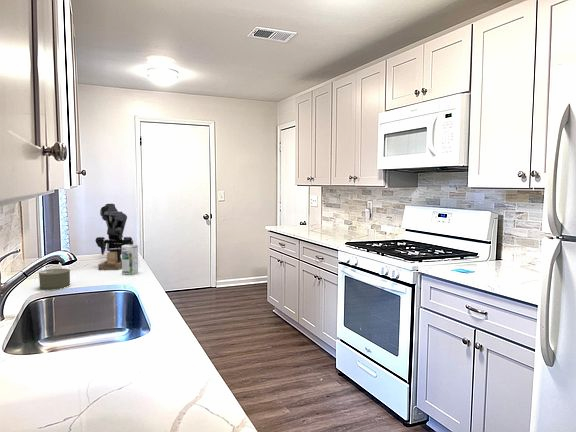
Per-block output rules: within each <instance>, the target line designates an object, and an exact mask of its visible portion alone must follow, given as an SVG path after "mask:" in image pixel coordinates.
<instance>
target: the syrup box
mask: <svg viewBox="0 0 576 432" xmlns="http://www.w3.org/2000/svg"><path fill="white" fill-rule="evenodd" d="M121 260H122V268H121V274H122V275H131V276H132V275H135V274H138V273H139V246H138V244H133V245H123V246H122V254H121Z"/></svg>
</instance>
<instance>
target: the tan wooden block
mask: <svg viewBox="0 0 576 432" xmlns="http://www.w3.org/2000/svg"><path fill="white" fill-rule="evenodd" d="M106 261H107V264H117V252H110V251H107V253H106Z"/></svg>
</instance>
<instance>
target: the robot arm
mask: <svg viewBox="0 0 576 432" xmlns="http://www.w3.org/2000/svg"><path fill="white" fill-rule="evenodd" d="M99 214H100V216H101V219H102V220H103V221H105V223H106V226H107V227H106V228H107V231H106V235H107V236H108V239H106V238H105V237H104V236H102V237H101V236H98V237H96V238H95V243H96V245H97V247H99V248H100V251H101V256H103V255H104V254H105V252H117V261H122V246H123V245H134V240H133V238H132V237H131V236H124V230H125V227H126V223H127V219H128V216H127V214H125V212H124V213H123V211H119V210H118V209H117V207H116V204H115V203H105V204H104V206H102V207H101V208H100V210H99Z"/></svg>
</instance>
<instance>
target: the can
mask: <svg viewBox="0 0 576 432" xmlns="http://www.w3.org/2000/svg"><path fill="white" fill-rule="evenodd" d="M70 273H71V269H69V268H50V269H45V270H41V271H39V272H38V275H39V276H38V278H39V279H38V280H39V289H40V290H41V291H42V290H45V291H53V289H55V290H60V288H62V289H65V288H64V287H66V288H68V287H67V286H69V285H70V286H71V274H70ZM70 286H69V287H70Z"/></svg>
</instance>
